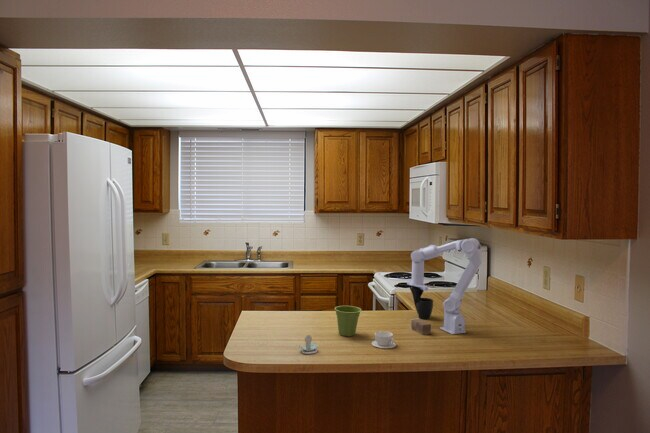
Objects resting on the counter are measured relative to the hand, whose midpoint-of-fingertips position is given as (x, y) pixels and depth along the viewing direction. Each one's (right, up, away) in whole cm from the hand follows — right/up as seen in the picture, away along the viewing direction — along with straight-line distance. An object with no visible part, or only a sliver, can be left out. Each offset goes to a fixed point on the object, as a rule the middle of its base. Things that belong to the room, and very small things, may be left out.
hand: (416, 302), depth 202 cm
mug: (+5, -10, +13) cm, 17 cm away
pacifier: (-51, -11, -41) cm, 66 cm away
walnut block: (-2, -8, -7) cm, 11 cm away
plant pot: (-35, -10, -18) cm, 41 cm away
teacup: (-20, -12, -31) cm, 39 cm away
